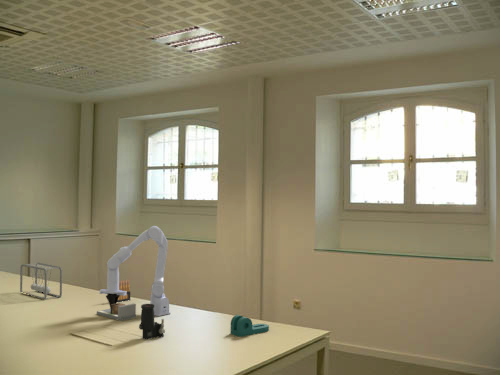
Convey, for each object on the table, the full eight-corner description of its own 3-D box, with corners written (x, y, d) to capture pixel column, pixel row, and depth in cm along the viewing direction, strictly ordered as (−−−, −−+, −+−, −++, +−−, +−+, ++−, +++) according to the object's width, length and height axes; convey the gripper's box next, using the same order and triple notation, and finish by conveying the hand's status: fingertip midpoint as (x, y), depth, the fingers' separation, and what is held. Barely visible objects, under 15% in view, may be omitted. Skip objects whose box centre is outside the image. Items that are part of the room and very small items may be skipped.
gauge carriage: (125, 312, 262) (125, 303, 262) (113, 314, 257) (114, 305, 257) (119, 311, 265) (119, 302, 265) (107, 313, 260) (107, 304, 260)
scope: (165, 304, 225) (145, 308, 218) (165, 337, 225) (145, 341, 217) (154, 301, 230) (134, 305, 223) (153, 333, 230) (134, 338, 223)
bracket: (239, 337, 226) (240, 318, 226) (230, 334, 232) (230, 316, 232) (271, 331, 237) (272, 313, 237) (262, 327, 243) (262, 310, 243)
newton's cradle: (19, 293, 317) (20, 263, 317) (36, 291, 325) (36, 262, 325) (44, 300, 298) (45, 268, 298) (62, 297, 305) (62, 267, 306)
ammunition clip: (114, 303, 293) (114, 281, 293) (112, 302, 294) (112, 280, 294) (130, 300, 301) (130, 279, 301) (128, 299, 302) (128, 278, 302)
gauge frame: (136, 317, 259) (136, 304, 259) (120, 320, 252) (121, 307, 252) (111, 311, 272) (112, 298, 272) (96, 314, 265) (96, 301, 265)
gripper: (130, 281, 266) (129, 308, 266) (105, 279, 271) (105, 306, 270) (122, 283, 259) (121, 311, 259) (97, 281, 264) (96, 309, 264)
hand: (112, 309), depth 264 cm, fingers closed
